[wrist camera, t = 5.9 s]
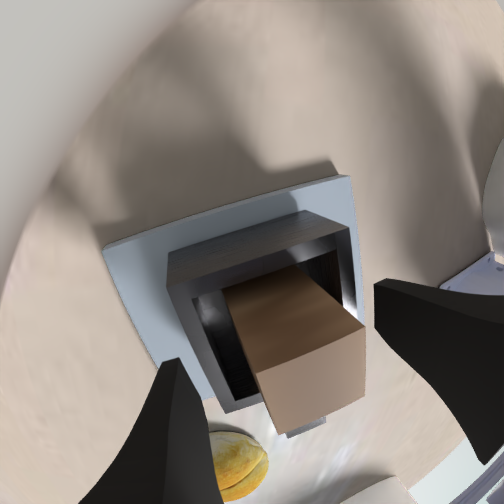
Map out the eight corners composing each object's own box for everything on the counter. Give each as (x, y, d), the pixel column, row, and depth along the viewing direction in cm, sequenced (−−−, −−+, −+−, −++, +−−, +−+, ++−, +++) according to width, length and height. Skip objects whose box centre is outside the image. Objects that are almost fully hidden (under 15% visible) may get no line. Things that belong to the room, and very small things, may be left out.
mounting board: (339, 174, 14) (349, 175, 13) (356, 328, 18) (364, 336, 17) (106, 244, 12) (101, 251, 11) (180, 394, 16) (181, 405, 15)
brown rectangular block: (284, 255, 12) (365, 326, 7) (296, 312, 13) (364, 395, 8) (217, 278, 12) (255, 373, 6) (236, 334, 13) (278, 435, 7)
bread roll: (191, 485, 20) (197, 518, 16) (145, 442, 17) (147, 484, 13) (273, 463, 21) (286, 496, 17) (249, 415, 18) (265, 458, 14)
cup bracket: (301, 207, 13) (357, 230, 9) (324, 355, 16) (363, 403, 12) (168, 249, 12) (165, 295, 8) (227, 392, 15) (246, 452, 11)
